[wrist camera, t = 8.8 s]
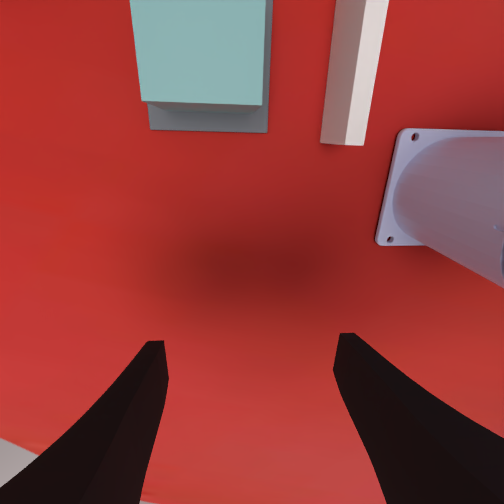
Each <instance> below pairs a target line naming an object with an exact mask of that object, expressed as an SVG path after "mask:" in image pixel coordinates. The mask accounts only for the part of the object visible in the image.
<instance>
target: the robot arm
mask: <svg viewBox="0 0 504 504" xmlns="http://www.w3.org/2000/svg"><path fill="white" fill-rule="evenodd" d="M413 134H415V139H414V140H413V141H412V140H411V136H412V135H413ZM390 236H391V238H390V240H389V241H387V239H388V237H390ZM375 242H376V243H377V244H379V245H381V246H413V245H426V246H428V247H430V248H432V249H433V250H435V251H437V252H439V253H441V254H443V255H444V256H446V257H448V258H450V259H452V260H453V261H455V262H457V263H459V264H461V265H462V266H464V267H466V268H468V269H470V270H472V271H473V272H475V273H477V274H479V275H481V276H482V277H484V278H486V279H488V280H490V281H491V282H493V283H495V284H497V285H499V286H501V287H502V288H504V131H481V130H449V129H417V128H406V129H403V130H401V131H400V132H399V133H398V136H397V140H396V145H395V149H394V154H393V158H392V163H391V168H390V172H389V177H388V181H387V186H386V191H385V195H384V200H383V204H382V209H381V213H380V218H379V223H378V227H377V232H376V236H375ZM333 372H334V375H335V378H336V382H337V385H338V388H339V391H340V394H341V396H342V398H343V401H344V403H345V405H346V407H347V409H348V412H349V414H350V416H351V418H352V420H353V422H354V425H355V427H356V429H357V431H358V433H359V435H360V438H361V440H362V442H363V444H364V446H365V448H366V450H367V453H368V455H369V457H370V460H371V462H372V465H373V467H374V470H375V472H376V475H377V478H378V481H379V483H380V486H381V489H382V492H383V494H384V497H385V500H386V503H387V504H504V438H502V437H500V436H498V435H497V434H495V433H493V432H491V431H490V430H488V429H486V428H485V427H483V426H481V425H479V424H478V423H476V422H474V421H473V420H471V419H469V418H468V417H466V416H464V415H463V414H461V413H460V412H458V411H456V410H455V409H453V408H452V407H450V406H449V405H447V404H446V403H444V402H443V401H441V400H440V399H438V398H437V397H435V396H434V395H432V394H431V393H429V392H428V391H427V390H425V389H424V388H423V387H421V386H420V385H418V384H417V383H416V382H414V381H413V380H412V379H410V378H409V377H408V376H406V375H405V374H404V373H403V372H401V371H400V370H399V369H397V368H396V367H395V366H394V365H392V364H391V363H390V362H389V361H388V360H386V359H385V358H384V357H383V356H381V355H380V354H379V353H378V352H377V351H375V350H374V349H373V348H372V347H371V346H370V345H368V344H367V343H366V342H365V341H364V340H362V339H361V338H360V337H359V336H357V335H356V334H355V333H340V335H339V341H338V346H337V351H336V356H335V362H334V367H333ZM168 381H169V376H168V369H167V361H166V353H165V346H164V340H163V341H148V342H147V343H145V345H144V346H143V347H142V349H141V350H140V351H139V352H138V354H137V355H136V356H135V357H134V359H133V360H132V361H131V362H130V364H129V365H128V366H127V367H126V369H125V370H124V371H123V372H122V373H121V374H120V376H119V377H118V378H117V379H116V380H115V381H114V383H113V384H112V385H111V386H110V387H109V388H108V389H107V391H106V392H105V393H104V394H103V395H102V396H101V397H100V398H99V399H98V400H97V401H96V402H95V403H94V404H93V406H92V407H91V408H90V409H89V410H88V411H87V412H86V413H85V414H84V415H83V416H82V417H81V418H80V419H79V420H78V421H77V422H76V423H75V424H74V425H73V426H72V427H71V428H69V429H68V430H67V431H66V432H65V433H64V434H63V435H62V436H61V437H60V438H59V439H58V440H57V441H55V442H54V443H53V444H52V445H51V446H50V447H49V448H48V449H46V450H45V451H44V452H43V453H42V454H41V455H40V456H38V457H37V458H36V459H35V460H34V461H33V462H32V463H30V464H29V465H28V466H27V467H26V468H24V469H23V470H22V471H21V472H19V473H18V474H17V475H16V476H14V477H13V478H12V479H11V480H10V481H8V482H7V483H6V484H4V485H3V486H2V487H0V504H139V502H140V497H141V492H142V487H143V483H144V479H145V474H146V470H147V467H148V463H149V460H150V456H151V452H152V449H153V445H154V442H155V438H156V435H157V431H158V427H159V424H160V420H161V416H162V413H163V409H164V405H165V399H166V394H167V387H168Z"/></svg>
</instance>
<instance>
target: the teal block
mask: <svg viewBox="0 0 504 504" xmlns="http://www.w3.org/2000/svg"><path fill="white" fill-rule="evenodd" d="M265 5H266V0H130V6H131V15H132V23H133V31H134V40H135V48H136V57H137V65H138V73H139V82H140V90H141V98H142V101H143V102H146V103H148V104H151V105H153V106H156V107H158V108H161V109H163V110H166V111H188V112H217V113H246V114H252V113H253V112H255V111H256V110H257V109H258V108H259V107H261V106H262V91H263V63H264V34H265Z"/></svg>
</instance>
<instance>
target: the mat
mask: <svg viewBox="0 0 504 504" xmlns="http://www.w3.org/2000/svg"><path fill="white" fill-rule="evenodd" d="M272 10H273V0H266V5H265V34H264V63H263V91H262V106H261V107H259V108H258V109H257V110H256V111H255V112H253V113H252V114H246V113H217V112H188V111H166V110H163V109H161V108H158V107H156V106H153V105H151V104H148V103H147V105H148V114H149V123H150V130H181V131H216V132H251V133H267V126H268V102H269V79H270V56H271V33H272Z"/></svg>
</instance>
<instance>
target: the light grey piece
mask: <svg viewBox="0 0 504 504" xmlns="http://www.w3.org/2000/svg"><path fill="white" fill-rule="evenodd" d="M388 2H389V0H336V7H335V16H334V25H333V33H332V42H331V51H330V59H329V68H328V77H327V85H326V94H325V103H324V111H323V120H322V129H321V137H320V143H327V144H339V145H364V140H365V134H366V128H367V122H368V117H369V111H370V105H371V100H372V94H373V88H374V82H375V77H376V71H377V65H378V60H379V54H380V48H381V42H382V37H383V31H384V25H385V20H386V14H387V8H388Z"/></svg>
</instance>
